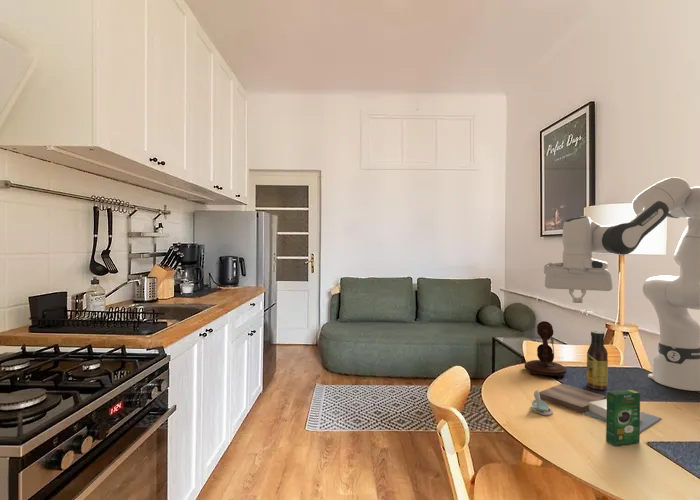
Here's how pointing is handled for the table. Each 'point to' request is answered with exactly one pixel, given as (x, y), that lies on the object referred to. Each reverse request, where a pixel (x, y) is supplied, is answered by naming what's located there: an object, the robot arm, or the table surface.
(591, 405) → the tile
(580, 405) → the board
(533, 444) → the table surface
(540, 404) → the pacifier
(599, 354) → the sauce bottle
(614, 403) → the coffee box
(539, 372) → the stacked ball statuette
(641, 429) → the mat
